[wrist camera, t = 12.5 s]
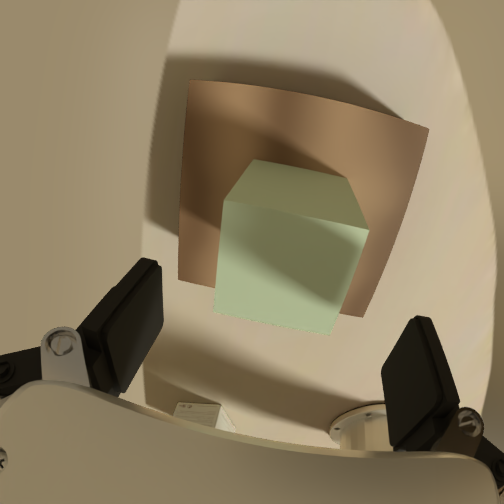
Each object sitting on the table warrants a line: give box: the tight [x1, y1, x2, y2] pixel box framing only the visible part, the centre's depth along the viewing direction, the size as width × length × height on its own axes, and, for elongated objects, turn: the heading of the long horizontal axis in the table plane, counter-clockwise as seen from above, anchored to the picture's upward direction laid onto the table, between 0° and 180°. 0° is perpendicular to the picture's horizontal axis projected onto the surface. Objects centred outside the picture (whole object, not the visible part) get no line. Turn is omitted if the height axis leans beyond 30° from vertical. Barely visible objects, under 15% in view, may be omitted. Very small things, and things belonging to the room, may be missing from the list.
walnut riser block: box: [178, 80, 429, 317], centre depth 21 cm, size 14×14×5 cm
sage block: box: [213, 159, 369, 335], centre depth 15 cm, size 6×6×7 cm
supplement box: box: [173, 402, 236, 433], centre depth 36 cm, size 7×7×13 cm
